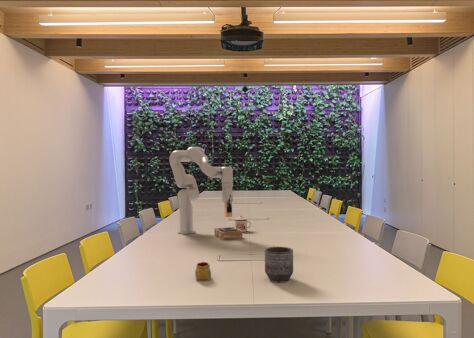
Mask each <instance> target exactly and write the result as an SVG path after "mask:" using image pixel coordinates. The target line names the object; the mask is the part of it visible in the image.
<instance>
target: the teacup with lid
mask: <svg viewBox="0 0 474 338" xmlns="http://www.w3.org/2000/svg"><path fill="white" fill-rule="evenodd" d="M248 223H249V226H248ZM234 227H235V228H237V229H239V230H242V233H245V232H247V231H248V229H250V228H251V227H252V221H249V220H248V219H247V217H244V216H243V215H242V214H239V216H237V217H235V218H234Z"/></svg>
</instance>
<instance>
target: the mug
mask: <svg viewBox="0 0 474 338" xmlns="http://www.w3.org/2000/svg"><path fill="white" fill-rule="evenodd" d="M210 266H211V264H209V262H206V261H202V262H198V263H197V264H196V267H195V270H194V274H195V279H196V281H210V279H211V276H212V270H211V267H210Z"/></svg>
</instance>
